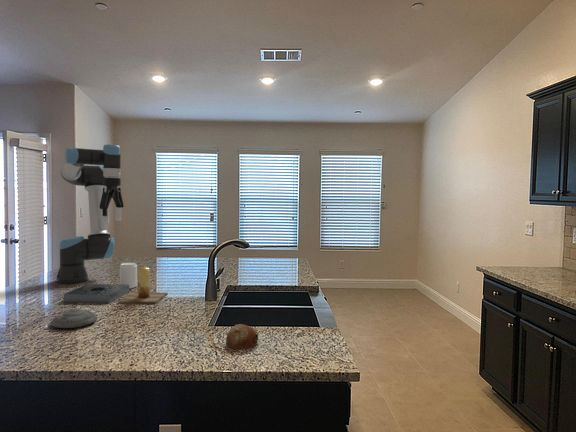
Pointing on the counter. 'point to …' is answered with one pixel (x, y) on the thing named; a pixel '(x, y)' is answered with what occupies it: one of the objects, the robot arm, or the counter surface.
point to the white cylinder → (128, 274)
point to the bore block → (96, 293)
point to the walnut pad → (134, 299)
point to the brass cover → (143, 282)
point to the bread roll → (241, 337)
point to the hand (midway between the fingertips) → (112, 221)
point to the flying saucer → (73, 319)
